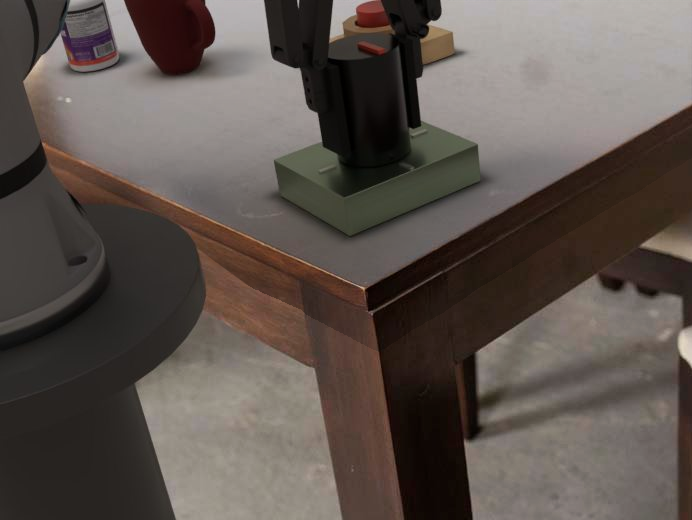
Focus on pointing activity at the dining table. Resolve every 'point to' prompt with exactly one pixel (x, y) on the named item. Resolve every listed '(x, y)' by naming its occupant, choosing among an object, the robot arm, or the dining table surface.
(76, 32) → the pill bottle
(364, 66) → the dial
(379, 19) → the button
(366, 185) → the panel
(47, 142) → the dining table surface
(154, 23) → the mug
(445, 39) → the button block
